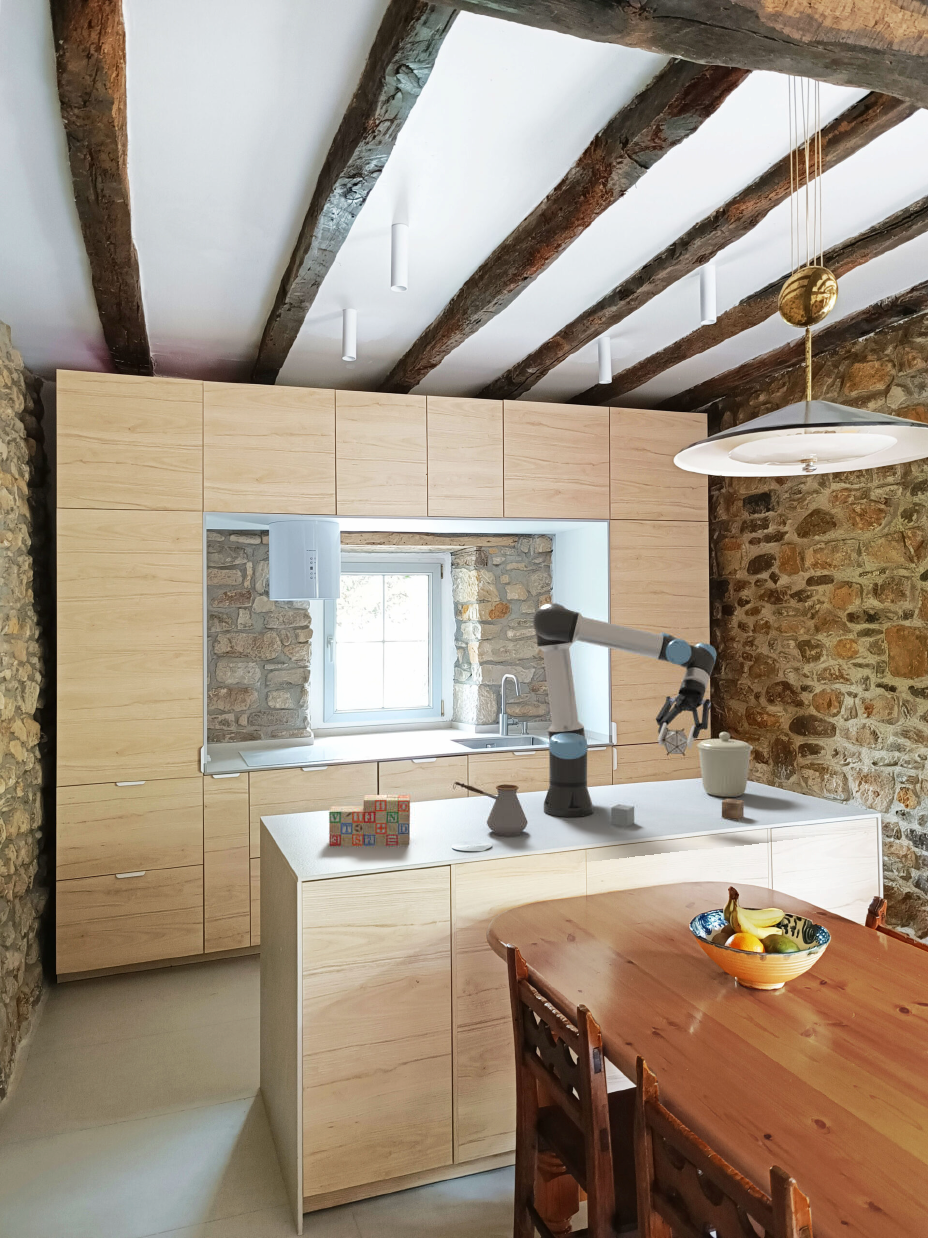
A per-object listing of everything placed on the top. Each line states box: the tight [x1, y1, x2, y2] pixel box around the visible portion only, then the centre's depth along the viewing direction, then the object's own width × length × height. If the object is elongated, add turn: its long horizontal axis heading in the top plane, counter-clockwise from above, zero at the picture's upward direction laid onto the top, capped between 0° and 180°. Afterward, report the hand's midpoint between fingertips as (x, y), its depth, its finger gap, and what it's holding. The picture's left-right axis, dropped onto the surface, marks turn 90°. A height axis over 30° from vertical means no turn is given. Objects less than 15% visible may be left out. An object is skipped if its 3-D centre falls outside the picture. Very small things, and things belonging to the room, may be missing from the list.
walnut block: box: [721, 798, 745, 821], centre depth 253 cm, size 5×5×5 cm
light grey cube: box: [610, 803, 635, 828], centre depth 246 cm, size 5×5×5 cm
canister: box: [696, 731, 754, 798], centre depth 285 cm, size 18×18×21 cm
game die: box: [662, 727, 688, 757], centre depth 252 cm, size 9×8×10 cm
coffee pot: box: [452, 781, 529, 837], centre depth 235 cm, size 21×12×15 cm, turn 104°
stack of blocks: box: [328, 794, 411, 847], centre depth 226 cm, size 21×6×12 cm, turn 92°
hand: (674, 744), depth 249 cm, fingers closed on game die, 8 cm apart
